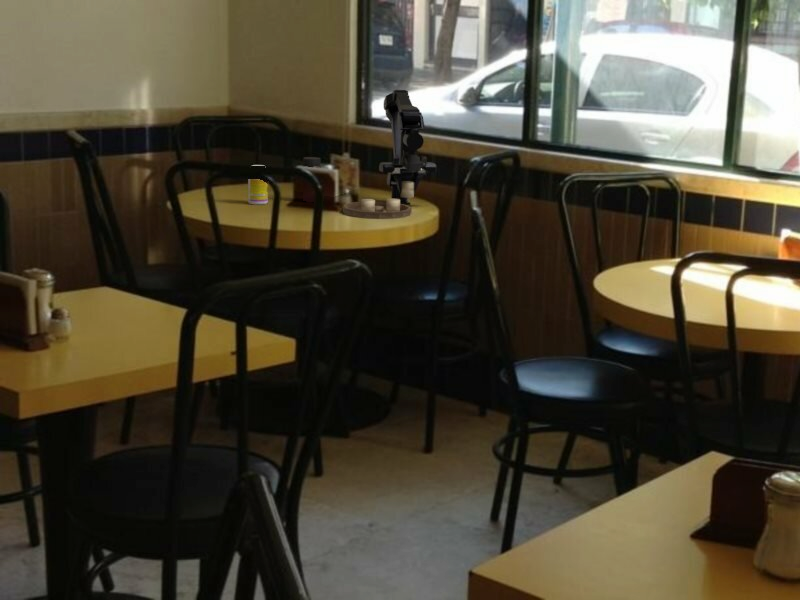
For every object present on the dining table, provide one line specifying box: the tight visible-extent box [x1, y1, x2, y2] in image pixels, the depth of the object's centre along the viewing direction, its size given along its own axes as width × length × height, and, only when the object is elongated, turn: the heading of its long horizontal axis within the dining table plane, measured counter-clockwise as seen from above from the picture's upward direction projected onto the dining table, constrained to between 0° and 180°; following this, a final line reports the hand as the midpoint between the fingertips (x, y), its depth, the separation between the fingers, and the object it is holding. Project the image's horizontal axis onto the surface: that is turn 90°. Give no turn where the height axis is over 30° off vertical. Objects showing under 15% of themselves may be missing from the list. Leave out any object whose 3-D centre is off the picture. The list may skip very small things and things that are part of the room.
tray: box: [342, 201, 413, 220], centre depth 422 cm, size 22×22×3 cm
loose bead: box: [401, 181, 415, 199], centre depth 434 cm, size 4×4×5 cm
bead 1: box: [360, 198, 376, 212], centre depth 416 cm, size 4×4×5 cm
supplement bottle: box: [247, 164, 269, 206], centre depth 437 cm, size 7×7×13 cm
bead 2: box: [386, 198, 400, 212], centre depth 418 cm, size 4×4×5 cm
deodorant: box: [302, 156, 322, 167], centre depth 444 cm, size 6×6×15 cm
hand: (407, 193), depth 434 cm, fingers closed on loose bead, 4 cm apart
